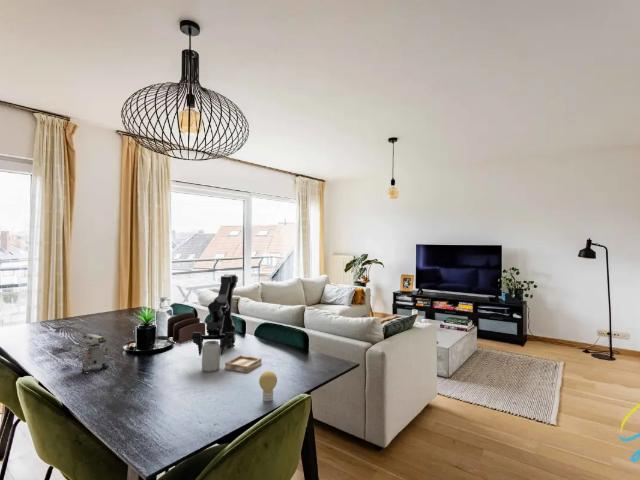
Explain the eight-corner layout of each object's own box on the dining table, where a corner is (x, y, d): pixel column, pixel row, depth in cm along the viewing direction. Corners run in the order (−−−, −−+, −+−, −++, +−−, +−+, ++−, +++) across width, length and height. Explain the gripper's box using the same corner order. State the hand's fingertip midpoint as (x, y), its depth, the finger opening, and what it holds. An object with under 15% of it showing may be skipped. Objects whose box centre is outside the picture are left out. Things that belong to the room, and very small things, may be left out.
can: (223, 367, 153) (223, 340, 153) (212, 373, 146) (213, 345, 146) (209, 365, 156) (209, 339, 156) (198, 371, 149) (198, 343, 149)
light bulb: (259, 396, 125) (260, 368, 125) (277, 395, 126) (277, 368, 126) (258, 404, 119) (258, 375, 119) (276, 404, 119) (276, 375, 120)
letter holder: (166, 341, 193) (167, 316, 193) (193, 333, 211) (193, 310, 211) (179, 344, 188) (179, 318, 189) (205, 335, 206) (206, 312, 207)
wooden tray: (225, 368, 152) (225, 363, 152) (240, 360, 163) (240, 355, 163) (247, 372, 148) (247, 366, 148) (261, 363, 159) (261, 358, 159)
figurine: (99, 363, 157) (100, 330, 157) (109, 369, 149) (110, 335, 150) (76, 369, 149) (77, 334, 150) (85, 375, 142) (86, 339, 142)
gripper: (193, 314, 155) (184, 346, 144) (234, 314, 156) (229, 345, 145) (197, 327, 162) (190, 358, 151) (237, 327, 164) (232, 358, 152)
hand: (210, 355), depth 150 cm, fingers open, 9 cm apart
